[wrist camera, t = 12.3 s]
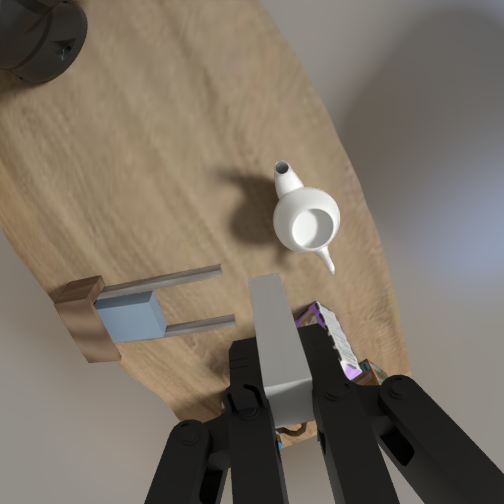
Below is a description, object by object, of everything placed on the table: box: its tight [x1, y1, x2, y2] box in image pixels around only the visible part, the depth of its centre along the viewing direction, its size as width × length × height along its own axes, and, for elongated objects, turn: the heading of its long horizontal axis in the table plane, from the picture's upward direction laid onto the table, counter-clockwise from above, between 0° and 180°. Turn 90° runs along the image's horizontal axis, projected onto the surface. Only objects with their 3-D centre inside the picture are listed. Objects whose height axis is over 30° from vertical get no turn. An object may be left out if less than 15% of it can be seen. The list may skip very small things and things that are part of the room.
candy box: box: [295, 301, 362, 381], centre depth 50 cm, size 14×6×16 cm, turn 141°
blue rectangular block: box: [94, 291, 167, 342], centre depth 51 cm, size 8×12×4 cm, turn 99°
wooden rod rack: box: [54, 264, 236, 363], centre depth 49 cm, size 14×30×8 cm, turn 100°
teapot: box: [273, 160, 340, 275], centre depth 43 cm, size 10×20×9 cm, turn 29°
